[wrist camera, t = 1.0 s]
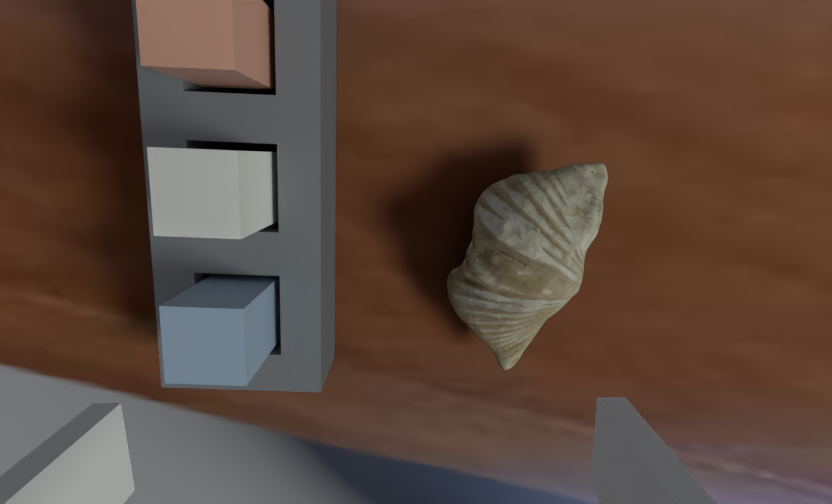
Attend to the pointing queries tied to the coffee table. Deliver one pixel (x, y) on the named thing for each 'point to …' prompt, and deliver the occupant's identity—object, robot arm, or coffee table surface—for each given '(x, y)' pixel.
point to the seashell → (526, 254)
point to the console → (297, 189)
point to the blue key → (220, 329)
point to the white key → (212, 192)
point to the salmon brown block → (209, 41)
